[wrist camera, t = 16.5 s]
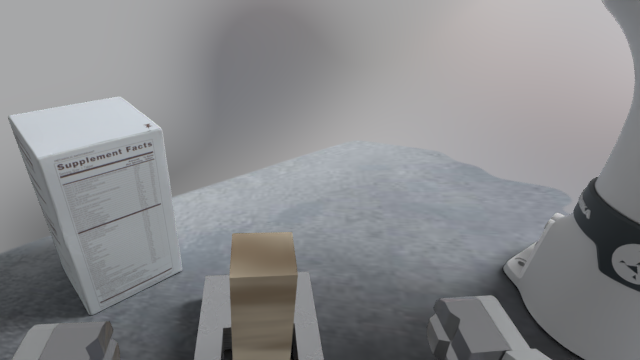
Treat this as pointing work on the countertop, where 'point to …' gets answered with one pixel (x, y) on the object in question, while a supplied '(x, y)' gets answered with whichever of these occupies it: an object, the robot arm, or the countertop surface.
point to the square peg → (262, 295)
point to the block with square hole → (218, 321)
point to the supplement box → (102, 196)
